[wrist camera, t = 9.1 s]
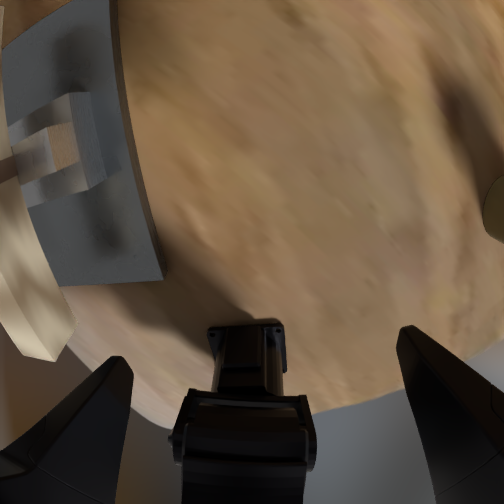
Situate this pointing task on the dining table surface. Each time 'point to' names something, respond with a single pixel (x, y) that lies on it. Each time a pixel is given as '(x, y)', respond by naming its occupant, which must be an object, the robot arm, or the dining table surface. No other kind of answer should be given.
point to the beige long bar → (26, 266)
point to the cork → (495, 210)
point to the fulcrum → (79, 148)
